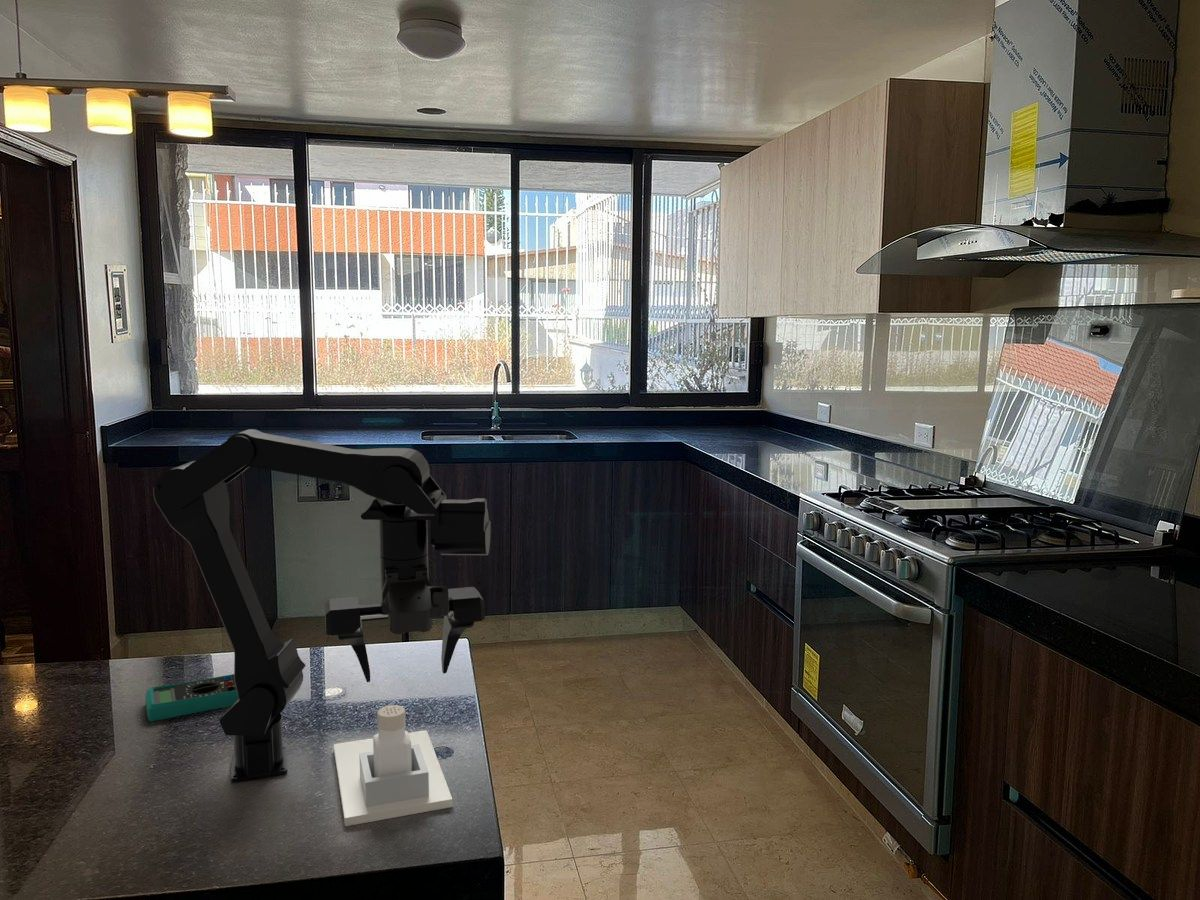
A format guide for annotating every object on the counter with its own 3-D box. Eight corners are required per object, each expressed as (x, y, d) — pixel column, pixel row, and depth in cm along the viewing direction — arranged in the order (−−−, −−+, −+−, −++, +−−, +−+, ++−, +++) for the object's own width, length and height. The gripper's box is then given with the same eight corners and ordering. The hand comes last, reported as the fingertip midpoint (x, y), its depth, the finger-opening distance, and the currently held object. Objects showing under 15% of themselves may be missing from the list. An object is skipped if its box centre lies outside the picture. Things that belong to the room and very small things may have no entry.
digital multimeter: (261, 704, 130) (260, 685, 129) (147, 725, 123) (146, 705, 122) (254, 686, 136) (253, 668, 136) (146, 705, 129) (144, 686, 129)
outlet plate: (333, 751, 115) (332, 722, 115) (426, 737, 120) (426, 709, 119) (345, 826, 99) (343, 793, 98) (452, 806, 103) (452, 774, 102)
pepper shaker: (407, 775, 108) (405, 701, 106) (413, 791, 104) (411, 715, 103) (373, 781, 106) (371, 706, 105) (378, 798, 103) (375, 720, 101)
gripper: (324, 579, 97) (329, 714, 99) (493, 566, 103) (494, 694, 105) (322, 553, 107) (327, 675, 110) (476, 542, 113) (477, 659, 116)
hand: (406, 676), depth 110 cm, fingers open, 9 cm apart
